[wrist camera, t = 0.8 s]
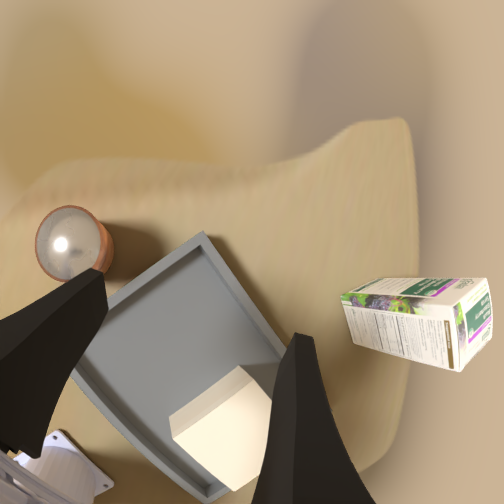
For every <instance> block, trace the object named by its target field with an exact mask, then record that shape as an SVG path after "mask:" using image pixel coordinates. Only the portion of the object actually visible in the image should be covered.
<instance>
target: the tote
mask: <svg viewBox="0 0 504 504" xmlns="http://www.w3.org/2000/svg"><path fill="white" fill-rule="evenodd" d="M107 301H108V307H109V310H108V312H107V314H106V316H105V319H104V321H103V323H102V325H101V326H100V328H99V330H98V332H97V334H96V335H95V337H94V338H93V340H92V341H91V343H90V344H89V346H88V348H87V349H86V351H85V352H84V354H83V355H82V357H81V358H80V360H79V361H78V363H77V365H76V366H75V368H74V369H73V371H72V372H71V374H70V376H71V378H72V379H73V380H74V382H75V383H76V384H77V385H78V386H79V388H80V389H81V390H82V391H83V393H84V394H85V395H86V396H87V397H88V398H89V400H90V401H91V402H92V403H93V404H94V405H95V406H96V408H97V409H98V410H99V411H100V412H101V413H102V414H103V415H104V416H105V417H106V419H107V420H108V421H109V422H110V423H111V424H112V425H113V426H114V427H115V428H116V429H117V430H118V431H119V432H120V433H121V434H122V435H123V436H124V437H125V438H126V439H127V440H128V441H129V442H130V443H131V444H132V445H133V446H134V447H135V448H136V449H137V450H138V451H139V452H141V453H142V454H143V455H144V456H145V457H146V458H147V459H148V460H149V461H150V462H152V463H153V464H154V465H155V466H156V467H157V468H158V469H160V470H161V471H162V472H163V473H164V474H166V475H167V476H168V477H169V478H170V479H172V480H173V481H174V482H175V483H177V484H178V485H179V486H180V487H182V488H183V489H184V490H186V491H187V492H188V493H190V494H191V495H192V496H194V497H195V498H196V499H198V500H199V501H200V502H202V503H203V504H210V503H212V502H213V501H215V500H216V499H218V498H220V497H221V496H223V495H224V494H226V493H228V492H229V491H231V489H230V488H229V487H227V486H226V485H225V484H224V483H222V482H221V481H220V480H219V479H217V478H216V477H215V476H214V475H212V474H211V473H210V472H209V471H208V470H207V469H205V468H204V467H203V466H202V465H201V464H200V463H198V462H197V461H196V460H195V459H194V458H193V457H192V456H190V455H189V454H188V453H187V452H186V451H185V450H184V449H183V448H182V447H181V446H180V445H179V444H177V443H176V442H175V441H174V440H173V438H172V433H171V427H170V421H169V416H171V415H172V414H174V413H175V412H177V411H178V410H179V409H181V408H182V407H184V406H185V405H186V404H188V403H189V402H191V401H192V400H193V399H195V398H196V397H198V396H199V395H200V394H202V393H203V392H204V391H206V390H207V389H208V388H210V387H211V386H212V385H214V384H215V383H216V382H218V381H219V380H220V379H222V378H223V377H224V376H226V375H227V374H228V373H230V372H231V371H232V370H233V369H235V368H236V367H237V366H240V367H241V368H242V369H243V370H244V371H245V372H247V373H248V374H249V375H250V376H251V377H252V378H253V379H254V380H255V381H256V383H257V384H258V385H259V386H260V387H261V389H262V390H263V391H264V392H265V393H266V395H267V396H268V397H269V398H270V399H271V400H272V396H273V389H274V384H275V380H276V376H277V371H278V367H279V364H280V362H281V360H282V358H283V356H284V354H285V352H286V350H287V349H286V347H285V346H284V345H283V343H282V342H281V341H280V339H279V338H278V336H277V335H276V334H275V332H274V331H273V329H272V328H271V327H270V325H269V324H268V323H267V321H266V320H265V318H264V317H263V316H262V314H261V313H260V311H259V310H258V309H257V307H256V306H255V304H254V303H253V302H252V300H251V299H250V297H249V296H248V294H247V293H246V292H245V290H244V289H243V287H242V286H241V285H240V283H239V282H238V280H237V279H236V277H235V276H234V275H233V273H232V272H231V270H230V269H229V267H228V266H227V265H226V263H225V262H224V260H223V259H222V257H221V256H220V254H219V253H218V252H217V250H216V249H215V247H214V246H213V244H212V243H211V241H210V240H209V239H208V237H207V236H206V234H205V233H204V231H201V232H200V233H198V234H197V235H195V236H194V237H193V238H191V239H190V240H188V241H187V242H185V243H184V244H182V245H181V246H180V247H178V248H177V249H175V250H174V251H172V252H171V253H170V254H168V255H167V256H165V257H164V258H163V259H161V260H160V261H158V262H157V263H155V264H154V265H153V266H151V267H150V268H149V269H147V270H146V271H144V272H143V273H142V274H140V275H139V276H137V277H136V278H135V279H133V280H132V281H131V282H129V283H128V284H126V285H125V286H124V287H122V288H121V289H120V290H118V291H117V292H116V293H114V294H113V295H112V296H110V297H109V298H108V299H107ZM330 409H331V408H330ZM331 412H332V409H331Z"/></svg>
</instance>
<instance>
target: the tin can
mask: <svg viewBox="0 0 504 504" xmlns="http://www.w3.org/2000/svg"><path fill="white" fill-rule="evenodd" d="M35 253H36V257H37V260H38V262H39V264H40V266H41V268H42V269H43V270H44V272H45V273H46V274H47V275H48V276H50V277H51V278H53V279H55V280H57V281H60V282H65V283H66V282H67V281H69V280H71V279H72V278H74V277H75V276H77V275H79V274H80V273H82V272H83V271H85V270H87V269H89V268H93V269H95V270H98V271H101V272H103V275H104V274H105V273H106V272H107V270H108V269H109V267H110V266H111V263H112V261H113V257H114V244H113V240H112V237H111V235H110V234H109V232H108V231H107V230H106V228H105V227H104V226H103V225H102V224H101V223H100V222H99V221H98V220H97V219H96V218H95V217H94V216H93V215H92V214H91V213H90V212H89V211H87V210H86V209H84V208H82V207H79V206H73V205H67V206H62V207H59V208H57V209H55V210H53V211H52V212H50V213H49V214H48V215H47V216H46V217H45V218H44V219H43V221H42V222H41V224H40V226H39V228H38V231H37V234H36V238H35Z"/></svg>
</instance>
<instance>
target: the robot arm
mask: <svg viewBox="0 0 504 504" xmlns="http://www.w3.org/2000/svg"><path fill="white" fill-rule="evenodd" d="M108 310H109V307H108V301H107V295H106V289H105V282H104V275H103V272H101V271H98V270H95V269H93V268H89V269H87V270H85V271H83V272H82V273H80V274H79V275H77V276H75V277H74V278H72V279H71V280H69V281H67V282H66V283H64V284H63V285H61V286H60V287H58V288H56V289H55V290H53V291H52V292H50V293H48V294H47V295H45V296H44V297H42V298H40V299H39V300H37V301H35V302H33V303H32V304H30V305H28V306H27V307H25V308H23V309H21V310H20V311H18V312H16V313H14V314H12V315H10V316H8V317H6V318H4V319H2V320H0V504H93V500H94V497H95V496H97V495H99V494H101V493H103V492H105V491H106V490H108V489H110V488H112V487H113V486H114V481H113V480H111V479H110V478H109V477H108V476H107V475H106V474H105V473H103V472H102V471H101V470H100V469H99V468H98V467H97V466H96V465H95V464H94V463H92V462H91V461H90V460H89V459H88V458H87V457H86V456H85V455H84V454H83V453H82V452H81V451H80V450H79V449H78V448H77V447H76V446H75V445H74V444H73V443H72V442H71V441H70V440H69V439H68V438H67V437H66V436H65V435H64V433H63V432H62V431H60V430H55V431H54V432H52V433H51V434H49V435H48V436H46V433H47V429H48V426H49V423H50V420H51V417H52V414H53V412H54V409H55V407H56V404H57V402H58V399H59V397H60V395H61V392H62V390H63V388H64V386H65V384H66V381H67V380H68V378H69V376H70V374H71V372H72V371H73V369H74V368H75V366H76V365H77V363H78V361H79V360H80V358H81V357H82V355H83V354H84V352H85V351H86V349H87V348H88V346H89V344H90V343H91V341H92V340H93V338H94V337H95V335H96V334H97V332H98V330H99V328H100V326H101V325H102V323H103V321H104V319H105V316H106V314H107V312H108ZM54 435H55V436H57V438H55V437H54ZM45 436H46V437H45ZM9 450H11V451H12V452H13V453H15V454H17V453H18V451H19V450H21V451H22V453H21V454H19V455H18V456H16V457H15V458H13V459H12V458H10V457H9V456H8V455H7V453H8V451H9ZM16 460H17V461H18V462H17V461H16ZM104 484H107V485H108V486H106V485H104ZM251 504H376V503H375V502H374V500H373V499H372V497H371V496H370V494H369V492H368V491H367V489H366V487H365V486H364V484H363V482H362V480H361V479H360V477H359V475H358V473H357V471H356V469H355V467H354V465H353V463H352V462H351V460H350V457H349V455H348V453H347V451H346V449H345V446H344V444H343V442H342V439H341V437H340V434H339V432H338V429H337V427H336V424H335V421H334V418H333V415H332V412H331V409H330V406H329V403H328V399H327V396H326V392H325V389H324V385H323V381H322V377H321V373H320V369H319V365H318V360H317V355H316V350H315V344H314V339H313V337H311V336H307V335H303V334H299V333H296V332H295V334H294V336H293V338H292V340H291V342H290V344H289V346H288V348H287V350H286V352H285V354H284V356H283V358H282V360H281V362H280V364H279V367H278V371H277V376H276V380H275V384H274V389H273V396H272V405H271V413H270V421H269V429H268V437H267V444H266V450H265V455H264V459H263V463H262V467H261V471H260V475H259V478H258V482H257V486H256V489H255V493H254V496H253V499H252V503H251Z"/></svg>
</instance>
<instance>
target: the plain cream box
mask: <svg viewBox="0 0 504 504" xmlns="http://www.w3.org/2000/svg"><path fill="white" fill-rule="evenodd" d="M271 405H272V400H271V399H270V398H269V397H268V396H267V395H266V393H265V392H264V391H263V390H262V389H261V387H260V386H259V385H258V384H257V383H256V381H255V380H254V379H253V378H252V377H251V376H250V375H249V374H248V373H247V372H245V371H244V370H243V369H242V368H241V367H240V366H237V367H236V368H235V369H233V370H232V371H231V372H230V373H228V374H227V375H226V376H224V377H223V378H222V379H220V380H219V381H218V382H216V383H215V384H214V385H212V386H211V387H210V388H208V389H207V390H206V391H204V392H203V393H202V394H200V395H199V396H198V397H196V398H195V399H193V400H192V401H191V402H189V403H188V404H186V405H185V406H184V407H182V408H181V409H179V410H178V411H177V412H175V413H174V414H172V415H171V416H169V421H170V427H171V433H172V438H173V440H174V441H175V442H176V443H177V444H179V445H180V446H181V447H182V448H183V449H184V450H185V451H186V452H187V453H188V454H189V455H190V456H192V457H193V458H194V459H195V460H196V461H197V462H198V463H200V464H201V465H202V466H203V467H204V468H205V469H207V470H208V471H209V472H210V473H211V474H212V475H214V476H215V477H216V478H217V479H219V480H220V481H221V482H222V483H224V484H225V485H226V486H227V487H229V488H230V489H231V490H233V491H234V492H235V491H236V490H238V489H239V488H241V487H242V486H244V485H245V484H247V483H248V482H249V481H251V480H252V479H254V478H255V477H257V476H258V475H259V474H260V471H261V467H262V463H263V459H264V455H265V450H266V444H267V437H268V429H269V421H270V413H271Z"/></svg>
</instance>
